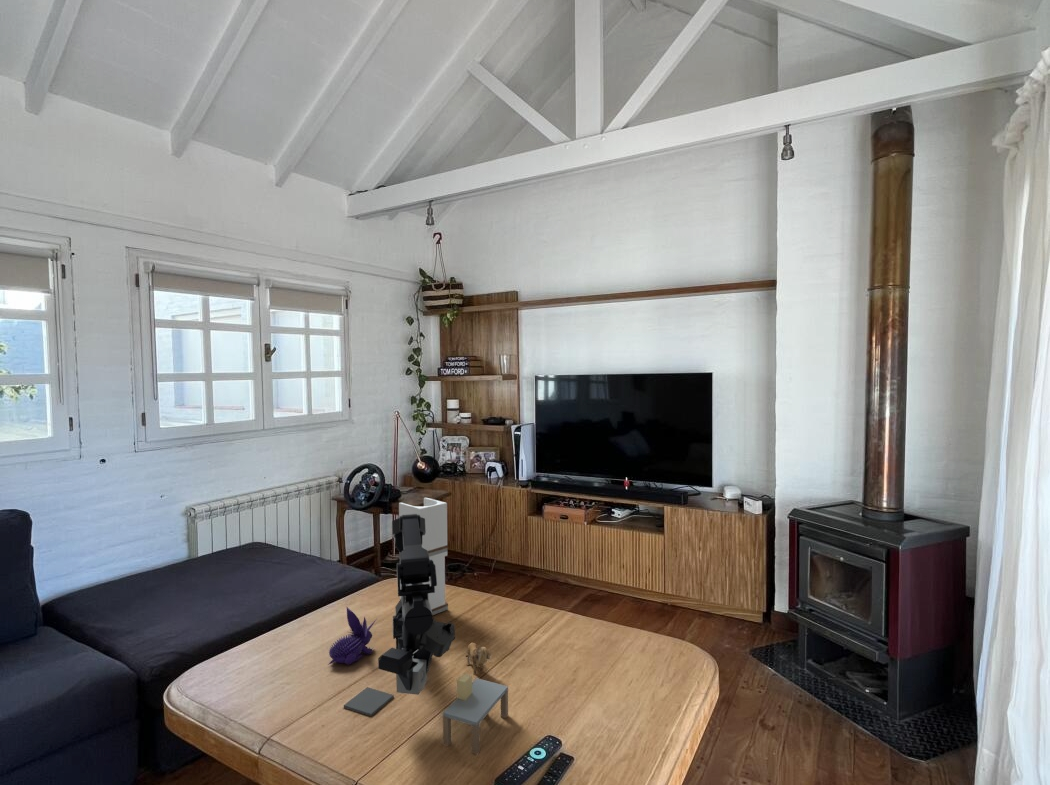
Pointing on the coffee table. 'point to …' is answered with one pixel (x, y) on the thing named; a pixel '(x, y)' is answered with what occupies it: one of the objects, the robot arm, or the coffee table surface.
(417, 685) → the dice cube
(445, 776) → the coffee table surface
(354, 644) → the creature
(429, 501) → the white square tower
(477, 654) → the lion figurine
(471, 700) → the small grey table
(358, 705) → the mat
